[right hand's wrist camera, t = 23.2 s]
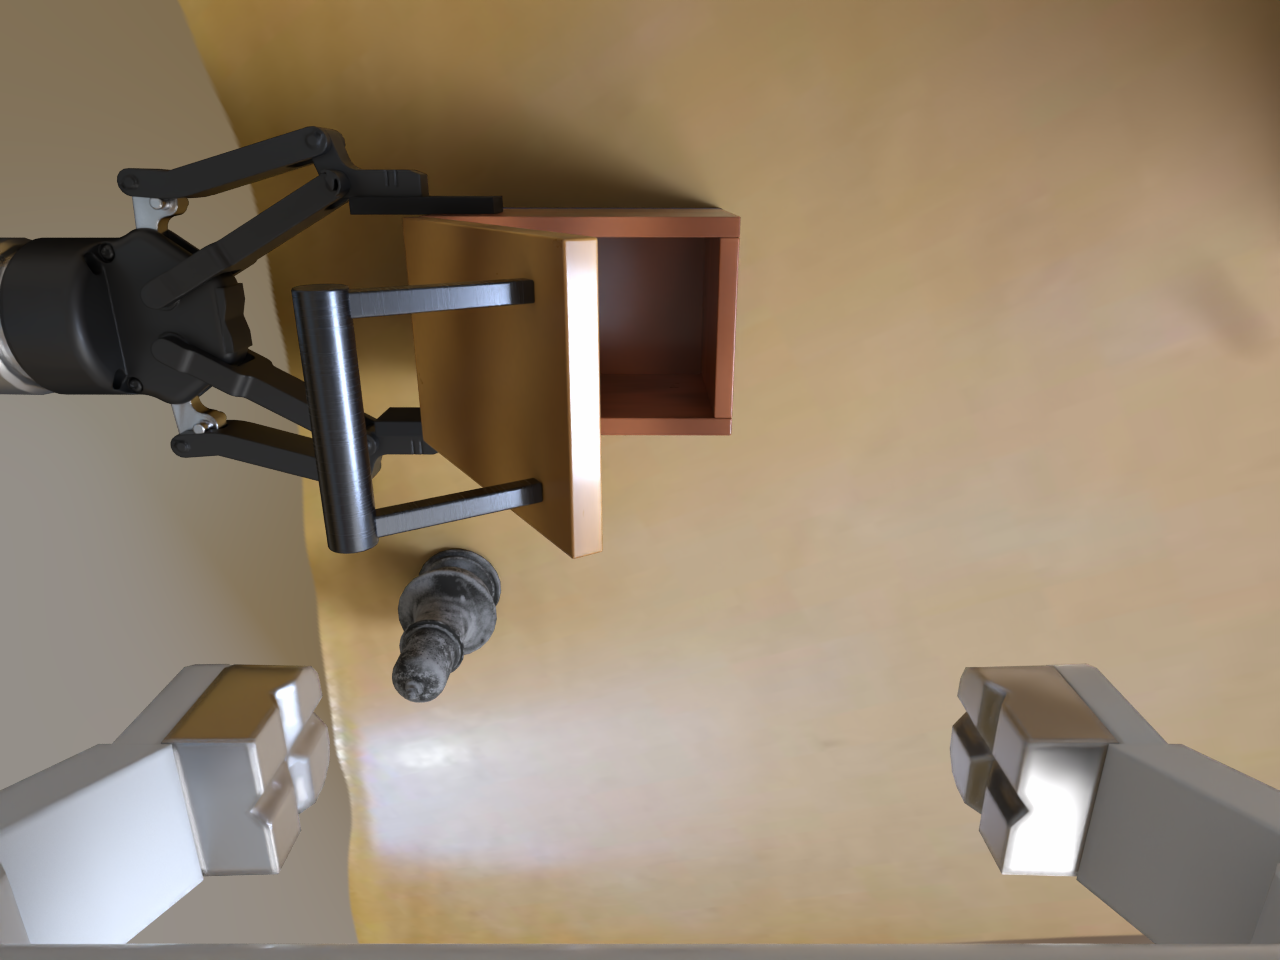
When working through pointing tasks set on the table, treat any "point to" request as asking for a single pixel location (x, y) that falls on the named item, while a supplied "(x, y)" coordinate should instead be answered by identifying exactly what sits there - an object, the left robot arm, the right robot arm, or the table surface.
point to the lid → (470, 382)
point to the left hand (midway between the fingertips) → (504, 318)
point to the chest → (656, 311)
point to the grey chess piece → (444, 620)
